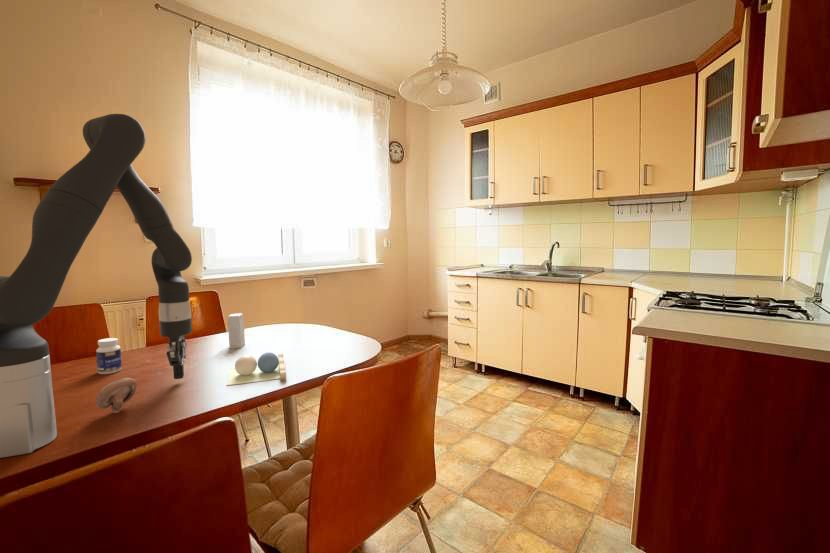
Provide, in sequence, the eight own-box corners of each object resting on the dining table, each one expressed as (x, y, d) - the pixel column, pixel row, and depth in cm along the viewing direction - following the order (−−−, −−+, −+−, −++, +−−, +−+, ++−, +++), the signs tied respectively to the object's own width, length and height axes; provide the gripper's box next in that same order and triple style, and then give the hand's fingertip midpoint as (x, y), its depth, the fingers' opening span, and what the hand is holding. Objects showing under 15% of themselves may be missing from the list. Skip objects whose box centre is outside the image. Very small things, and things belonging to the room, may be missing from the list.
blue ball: (283, 362, 111) (266, 352, 108) (270, 379, 110) (252, 368, 107) (282, 356, 116) (266, 346, 114) (269, 372, 115) (253, 362, 113)
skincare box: (241, 347, 137) (240, 316, 135) (228, 348, 136) (227, 316, 134) (245, 343, 143) (244, 312, 141) (232, 343, 142) (231, 313, 140)
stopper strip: (285, 380, 105) (285, 372, 105) (280, 381, 105) (280, 372, 105) (283, 361, 122) (283, 353, 122) (278, 361, 121) (278, 354, 121)
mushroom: (96, 422, 81) (93, 387, 80) (97, 412, 86) (94, 379, 85) (139, 411, 86) (137, 378, 85) (137, 402, 90) (135, 371, 90)
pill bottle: (108, 375, 108) (105, 342, 107) (92, 374, 109) (89, 341, 108) (126, 368, 114) (124, 337, 113) (112, 367, 115) (109, 336, 114)
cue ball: (260, 373, 108) (253, 355, 107) (238, 381, 106) (231, 363, 105) (259, 367, 114) (252, 349, 112) (239, 375, 111) (232, 357, 110)
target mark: (280, 378, 107) (280, 378, 107) (226, 385, 101) (226, 385, 101) (278, 363, 120) (278, 363, 120) (230, 369, 114) (230, 368, 114)
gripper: (186, 321, 97) (190, 384, 98) (195, 312, 109) (198, 368, 110) (152, 323, 94) (156, 388, 95) (165, 313, 106) (169, 371, 108)
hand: (179, 377), depth 103 cm, fingers closed
